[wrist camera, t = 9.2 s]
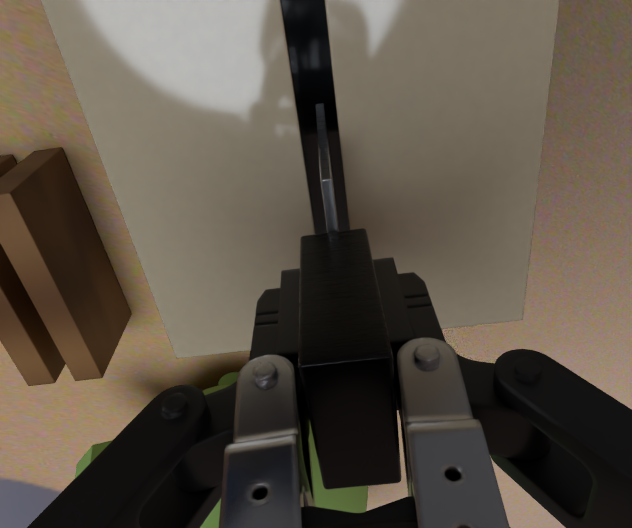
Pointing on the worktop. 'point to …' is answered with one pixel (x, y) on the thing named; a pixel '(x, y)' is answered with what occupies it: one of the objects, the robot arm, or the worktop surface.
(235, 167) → the cake
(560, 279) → the worktop surface
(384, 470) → the knife
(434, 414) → the robot arm
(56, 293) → the knife block
